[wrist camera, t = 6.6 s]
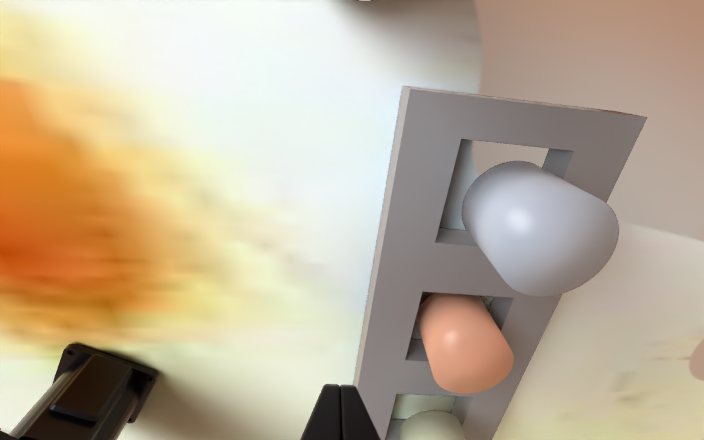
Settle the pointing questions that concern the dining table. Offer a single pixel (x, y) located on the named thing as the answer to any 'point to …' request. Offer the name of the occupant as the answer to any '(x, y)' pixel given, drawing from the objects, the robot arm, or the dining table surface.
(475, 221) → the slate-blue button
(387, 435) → the button panel
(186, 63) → the dining table surface
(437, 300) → the terracotta button
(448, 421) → the sage button
